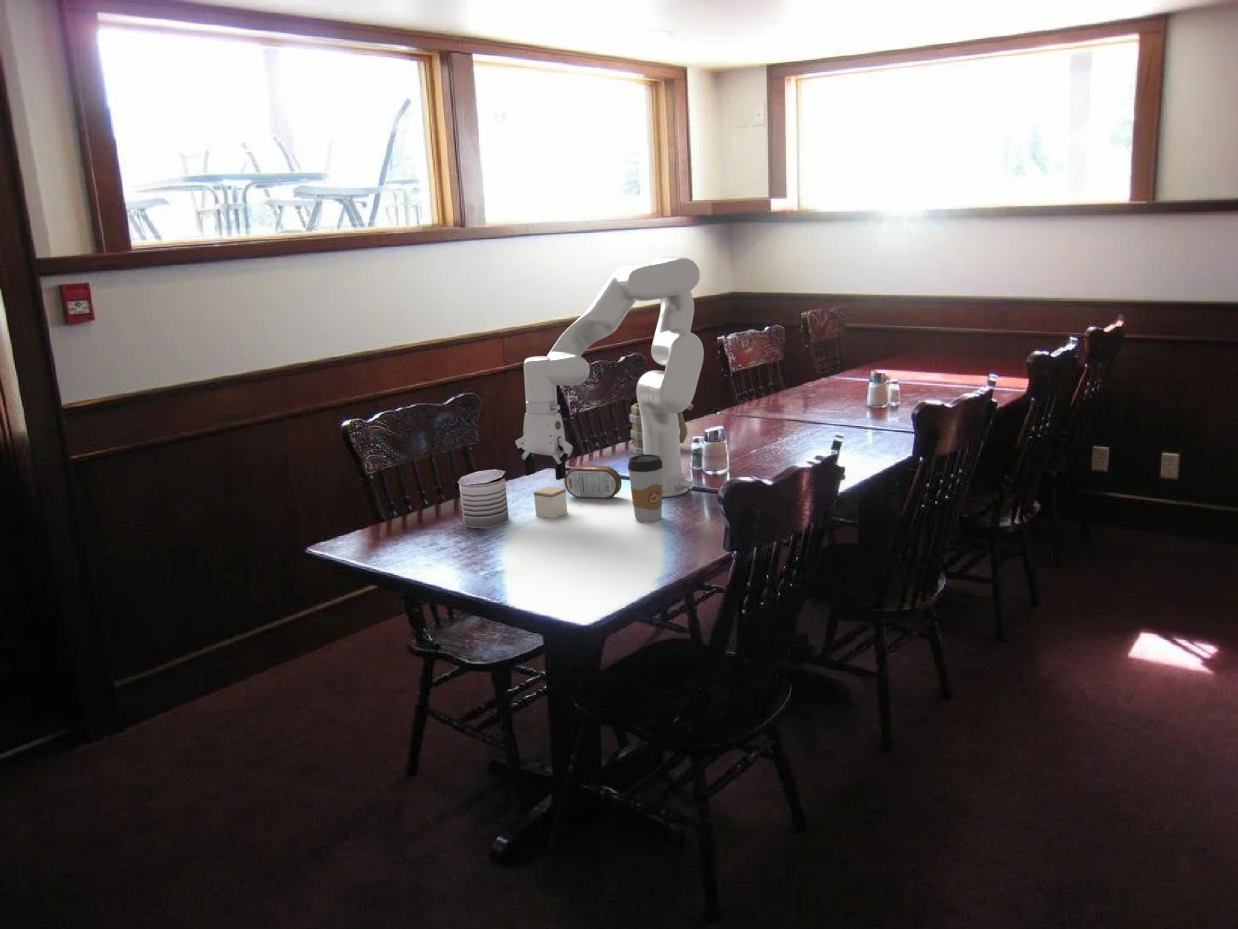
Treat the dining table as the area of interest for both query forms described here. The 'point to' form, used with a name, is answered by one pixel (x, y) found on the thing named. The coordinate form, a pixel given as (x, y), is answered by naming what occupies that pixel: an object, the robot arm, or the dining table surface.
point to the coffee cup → (646, 487)
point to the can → (484, 499)
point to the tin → (593, 482)
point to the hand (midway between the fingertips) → (545, 476)
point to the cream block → (550, 502)
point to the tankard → (637, 429)
